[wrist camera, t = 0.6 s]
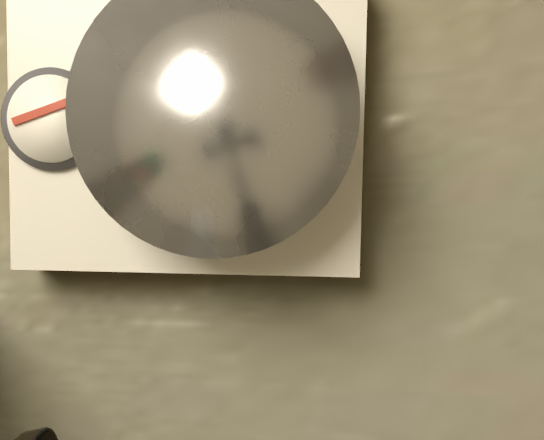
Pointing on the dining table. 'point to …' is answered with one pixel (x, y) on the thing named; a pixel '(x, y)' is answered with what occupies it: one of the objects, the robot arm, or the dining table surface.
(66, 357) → the dining table surface
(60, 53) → the kitchen scale
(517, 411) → the dining table surface
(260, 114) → the scale pan
